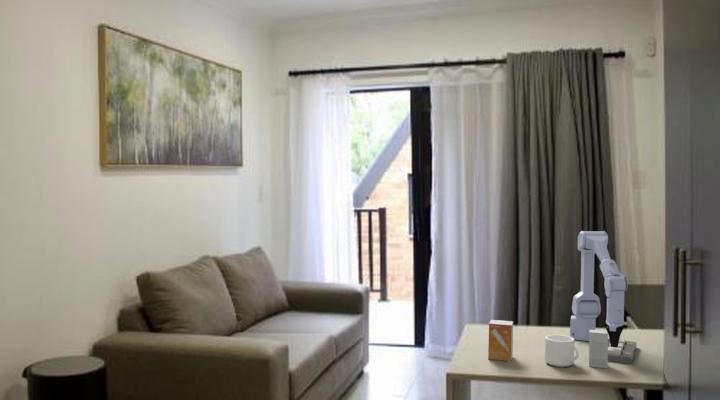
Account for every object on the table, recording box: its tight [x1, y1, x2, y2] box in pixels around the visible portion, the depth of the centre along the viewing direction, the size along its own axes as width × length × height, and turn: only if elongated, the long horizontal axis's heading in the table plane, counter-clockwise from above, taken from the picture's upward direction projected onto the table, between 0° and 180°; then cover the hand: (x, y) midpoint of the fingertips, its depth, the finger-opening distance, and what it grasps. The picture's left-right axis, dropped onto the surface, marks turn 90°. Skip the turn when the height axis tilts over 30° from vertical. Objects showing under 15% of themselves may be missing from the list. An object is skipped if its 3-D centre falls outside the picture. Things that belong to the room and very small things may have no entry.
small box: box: [487, 319, 514, 362], centre depth 228 cm, size 8×6×13 cm
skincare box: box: [588, 329, 609, 369], centre depth 219 cm, size 6×4×12 cm
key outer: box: [608, 347, 622, 355], centre depth 228 cm, size 4×4×2 cm
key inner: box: [619, 338, 626, 345], centre depth 241 cm, size 4×4×2 cm
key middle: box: [609, 343, 623, 350], centre depth 234 cm, size 4×4×2 cm
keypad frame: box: [608, 338, 637, 365], centre depth 234 cm, size 12×23×2 cm, turn 153°
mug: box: [544, 334, 579, 368], centre depth 221 cm, size 12×10×9 cm
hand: (614, 346), depth 228 cm, fingers closed
